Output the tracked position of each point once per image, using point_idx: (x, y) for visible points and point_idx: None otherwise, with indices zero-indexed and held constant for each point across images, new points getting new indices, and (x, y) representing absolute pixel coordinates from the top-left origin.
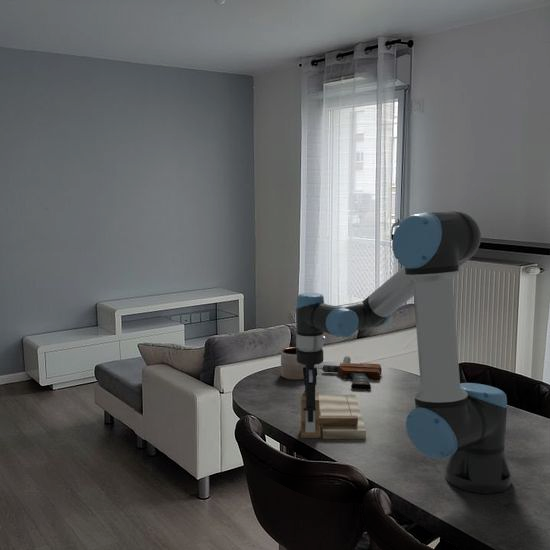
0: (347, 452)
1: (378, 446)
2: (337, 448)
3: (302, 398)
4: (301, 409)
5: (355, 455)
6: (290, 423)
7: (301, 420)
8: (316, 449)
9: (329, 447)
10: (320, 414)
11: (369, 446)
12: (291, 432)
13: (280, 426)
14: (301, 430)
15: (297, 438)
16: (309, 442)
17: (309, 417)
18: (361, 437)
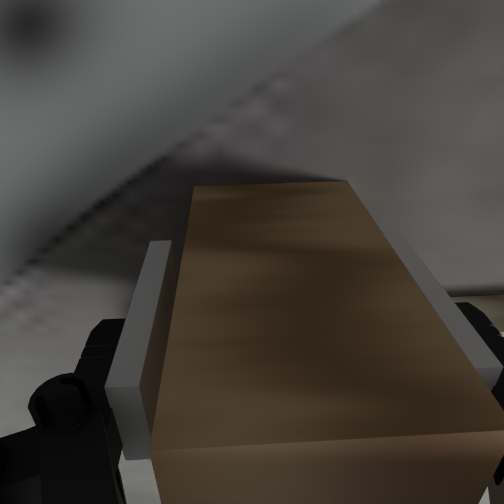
0: (27, 405)
1: (130, 491)
2: (65, 370)
3: (235, 458)
4: (170, 333)
5: (3, 430)
6: (481, 98)
7: (184, 255)
8: (16, 277)
9: (67, 338)
10: (496, 322)
11: (123, 469)
12: (292, 110)
13: (435, 3)
14: (190, 210)
15: (176, 159)
16: (117, 238)
17: (84, 365)
18: None
